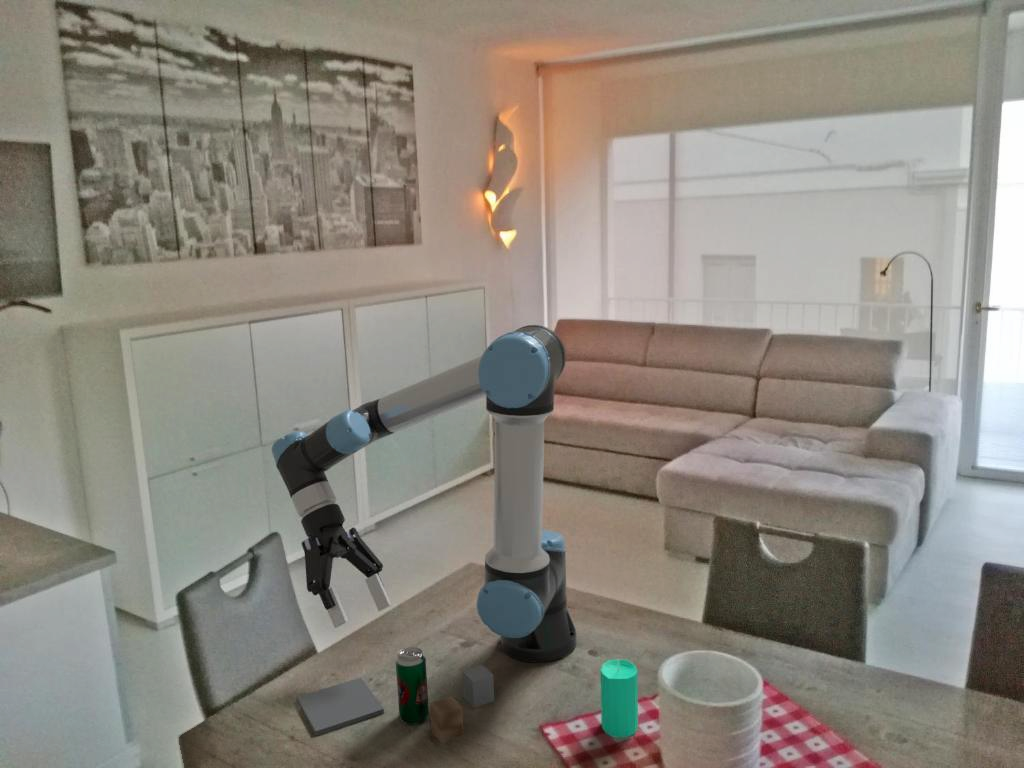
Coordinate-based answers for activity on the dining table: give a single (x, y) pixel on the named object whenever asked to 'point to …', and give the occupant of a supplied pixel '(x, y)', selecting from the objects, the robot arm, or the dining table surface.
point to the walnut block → (446, 719)
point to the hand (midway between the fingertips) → (364, 616)
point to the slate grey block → (478, 686)
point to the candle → (619, 698)
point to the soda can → (412, 685)
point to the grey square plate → (339, 706)
